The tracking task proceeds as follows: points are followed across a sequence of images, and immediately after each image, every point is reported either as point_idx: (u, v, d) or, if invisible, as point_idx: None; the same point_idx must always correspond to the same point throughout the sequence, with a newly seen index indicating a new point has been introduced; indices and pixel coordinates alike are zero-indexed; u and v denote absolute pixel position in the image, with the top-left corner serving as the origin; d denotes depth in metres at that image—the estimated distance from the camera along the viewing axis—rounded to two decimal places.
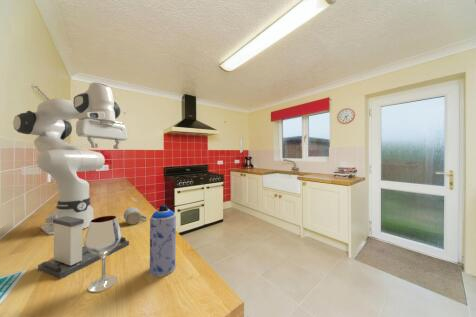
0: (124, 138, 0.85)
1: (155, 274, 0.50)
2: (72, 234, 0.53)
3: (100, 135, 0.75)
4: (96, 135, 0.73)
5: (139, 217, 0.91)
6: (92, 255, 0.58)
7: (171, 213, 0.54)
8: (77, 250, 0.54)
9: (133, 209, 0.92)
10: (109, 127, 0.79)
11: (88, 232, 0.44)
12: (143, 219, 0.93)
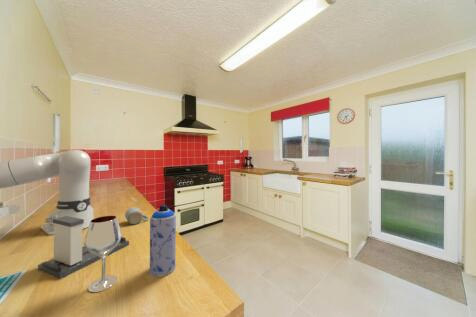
0: None
1: (155, 274, 0.50)
2: (72, 234, 0.53)
3: None
4: None
5: (140, 217, 0.92)
6: (92, 255, 0.58)
7: (171, 213, 0.54)
8: (77, 250, 0.54)
9: (134, 209, 0.93)
10: None
11: (88, 232, 0.44)
12: (144, 219, 0.94)
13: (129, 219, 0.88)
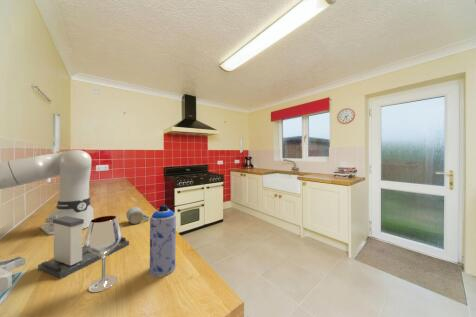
0: None
1: (155, 274, 0.50)
2: (72, 234, 0.53)
3: None
4: None
5: (141, 217, 0.92)
6: (92, 255, 0.58)
7: (171, 213, 0.54)
8: (77, 250, 0.54)
9: (136, 209, 0.93)
10: None
11: (88, 232, 0.44)
12: (145, 219, 0.94)
13: (130, 219, 0.89)
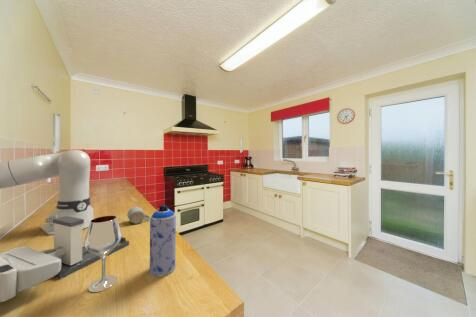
0: (24, 247, 0.52)
1: (155, 274, 0.50)
2: (72, 234, 0.53)
3: (45, 254, 0.48)
4: (49, 255, 0.47)
5: (143, 216, 0.92)
6: (92, 255, 0.58)
7: (171, 213, 0.54)
8: (77, 250, 0.54)
9: (137, 208, 0.94)
10: (12, 260, 0.45)
11: (88, 232, 0.44)
12: (146, 218, 0.94)
13: (131, 219, 0.89)
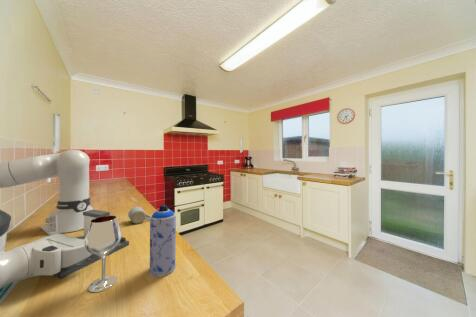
0: (59, 234, 0.59)
1: (155, 274, 0.50)
2: None
3: (79, 239, 0.55)
4: (83, 240, 0.55)
5: (143, 216, 0.92)
6: (92, 255, 0.58)
7: (171, 213, 0.54)
8: None
9: (137, 208, 0.94)
10: None
11: (88, 232, 0.44)
12: (147, 218, 0.95)
13: (132, 218, 0.89)
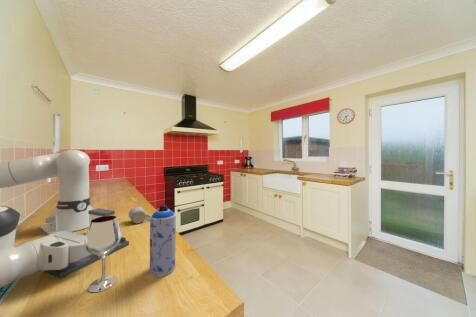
0: (65, 231, 0.61)
1: (155, 274, 0.50)
2: None
3: (85, 236, 0.57)
4: None
5: (144, 216, 0.93)
6: (92, 255, 0.58)
7: (171, 213, 0.54)
8: None
9: (138, 208, 0.94)
10: None
11: (88, 232, 0.44)
12: (148, 218, 0.95)
13: (133, 218, 0.89)
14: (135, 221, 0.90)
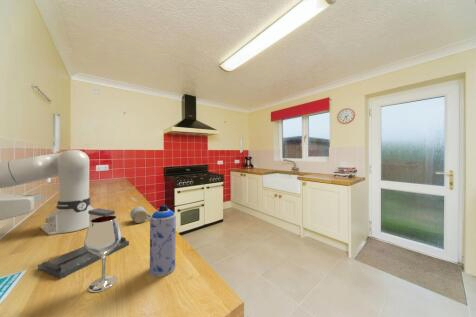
0: None
1: (155, 274, 0.50)
2: None
3: (17, 195, 0.43)
4: (21, 196, 0.43)
5: (145, 216, 0.93)
6: (92, 255, 0.58)
7: (171, 213, 0.54)
8: None
9: (139, 208, 0.94)
10: None
11: (88, 232, 0.44)
12: (149, 218, 0.95)
13: (134, 218, 0.90)
14: (136, 221, 0.90)
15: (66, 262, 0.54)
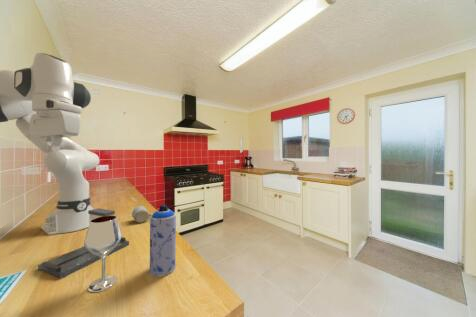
0: None
1: (155, 274, 0.50)
2: None
3: None
4: None
5: (147, 216, 0.94)
6: (92, 255, 0.58)
7: (171, 213, 0.54)
8: None
9: (141, 208, 0.95)
10: None
11: (88, 232, 0.44)
12: (150, 217, 0.96)
13: (136, 218, 0.90)
14: (138, 220, 0.91)
15: (66, 262, 0.54)
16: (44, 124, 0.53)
